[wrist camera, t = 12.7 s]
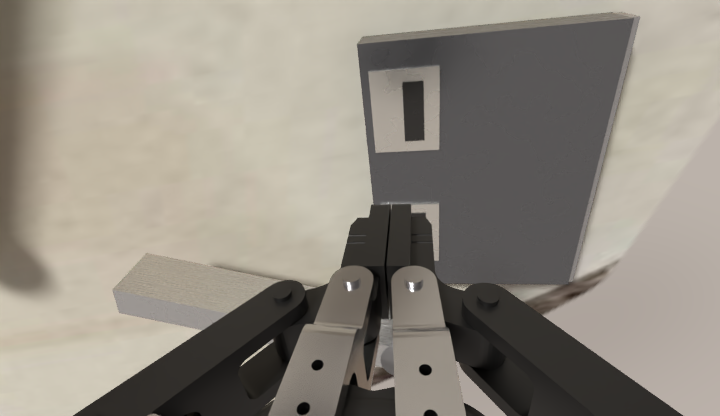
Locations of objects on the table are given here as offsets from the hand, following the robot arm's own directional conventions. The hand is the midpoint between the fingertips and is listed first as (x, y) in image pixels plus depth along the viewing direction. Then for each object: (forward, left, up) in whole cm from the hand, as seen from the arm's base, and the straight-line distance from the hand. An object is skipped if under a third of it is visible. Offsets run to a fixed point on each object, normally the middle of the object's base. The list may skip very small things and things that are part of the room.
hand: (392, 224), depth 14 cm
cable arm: (+9, +13, -9) cm, 18 cm away
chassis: (-5, +4, -13) cm, 15 cm away
